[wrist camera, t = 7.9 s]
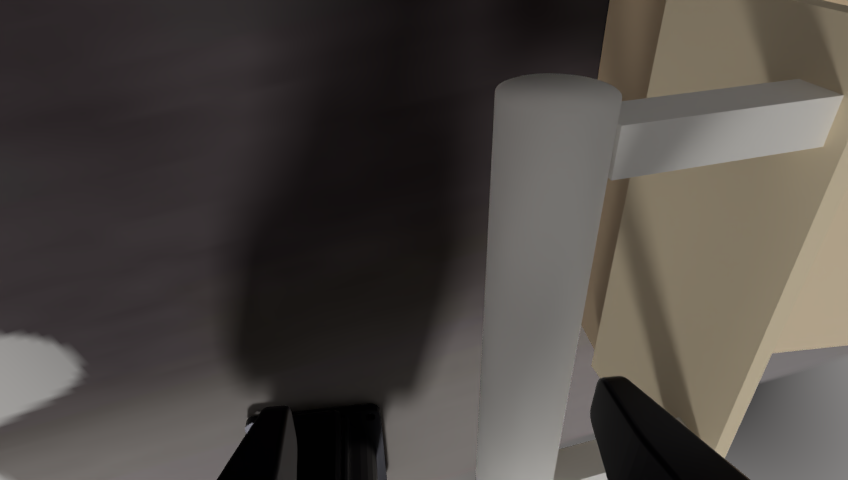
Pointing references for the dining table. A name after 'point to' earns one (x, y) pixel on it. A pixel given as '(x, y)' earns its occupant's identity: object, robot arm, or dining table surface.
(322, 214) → the dining table surface
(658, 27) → the carton
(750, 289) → the flap
